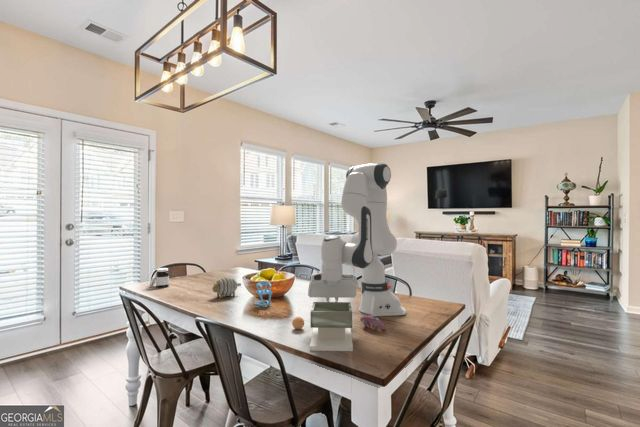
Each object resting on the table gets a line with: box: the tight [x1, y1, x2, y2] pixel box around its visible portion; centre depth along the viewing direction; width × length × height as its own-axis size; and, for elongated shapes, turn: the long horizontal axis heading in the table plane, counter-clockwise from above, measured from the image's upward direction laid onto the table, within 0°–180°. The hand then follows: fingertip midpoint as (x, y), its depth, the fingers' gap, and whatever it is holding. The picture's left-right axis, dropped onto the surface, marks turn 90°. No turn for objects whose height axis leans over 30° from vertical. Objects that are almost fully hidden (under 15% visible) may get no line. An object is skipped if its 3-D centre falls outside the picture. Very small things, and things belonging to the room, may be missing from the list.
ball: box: [291, 316, 305, 330], centre depth 137 cm, size 5×5×5 cm
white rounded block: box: [149, 267, 170, 289], centre depth 216 cm, size 12×11×12 cm
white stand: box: [309, 328, 354, 352], centre depth 131 cm, size 32×15×8 cm, turn 177°
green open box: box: [310, 301, 353, 329], centre depth 130 cm, size 30×15×6 cm, turn 177°
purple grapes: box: [359, 314, 386, 331], centre depth 137 cm, size 10×5×7 cm, turn 45°
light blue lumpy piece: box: [253, 280, 273, 308], centre depth 173 cm, size 8×8×12 cm
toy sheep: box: [212, 276, 242, 299], centre depth 190 cm, size 11×17×11 cm, turn 133°
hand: (332, 307), depth 139 cm, fingers closed
